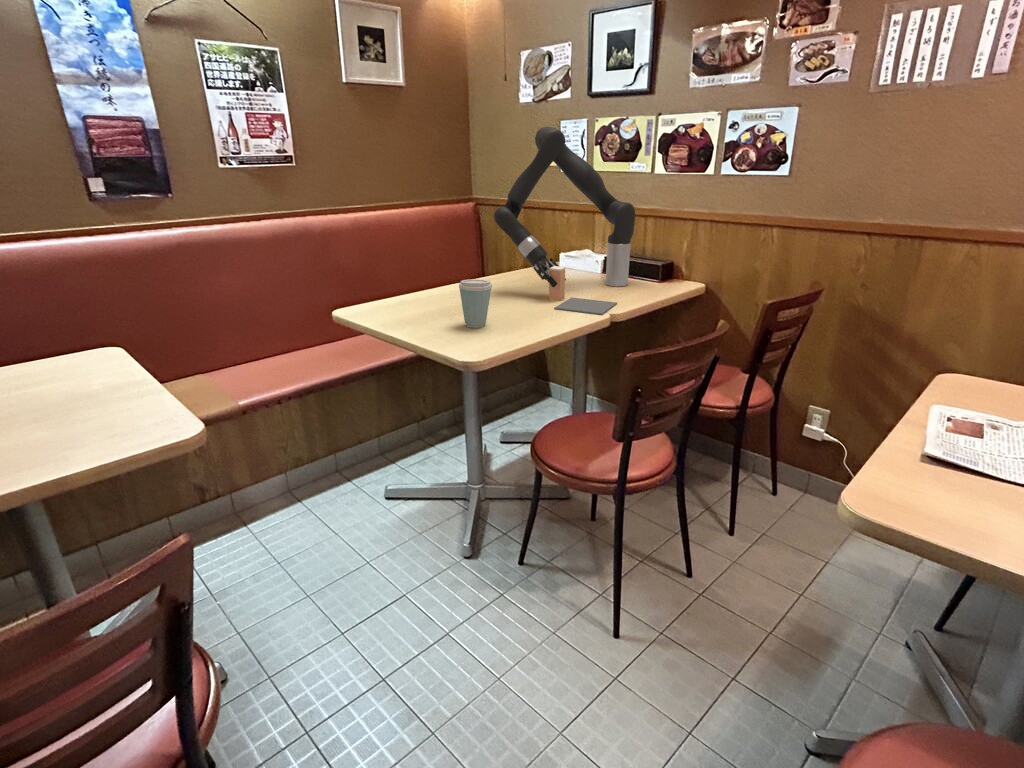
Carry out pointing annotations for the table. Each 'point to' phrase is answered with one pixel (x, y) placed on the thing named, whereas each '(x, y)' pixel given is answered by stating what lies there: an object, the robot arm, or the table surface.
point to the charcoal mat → (586, 306)
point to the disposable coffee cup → (475, 301)
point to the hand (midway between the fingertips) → (559, 283)
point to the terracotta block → (559, 276)
